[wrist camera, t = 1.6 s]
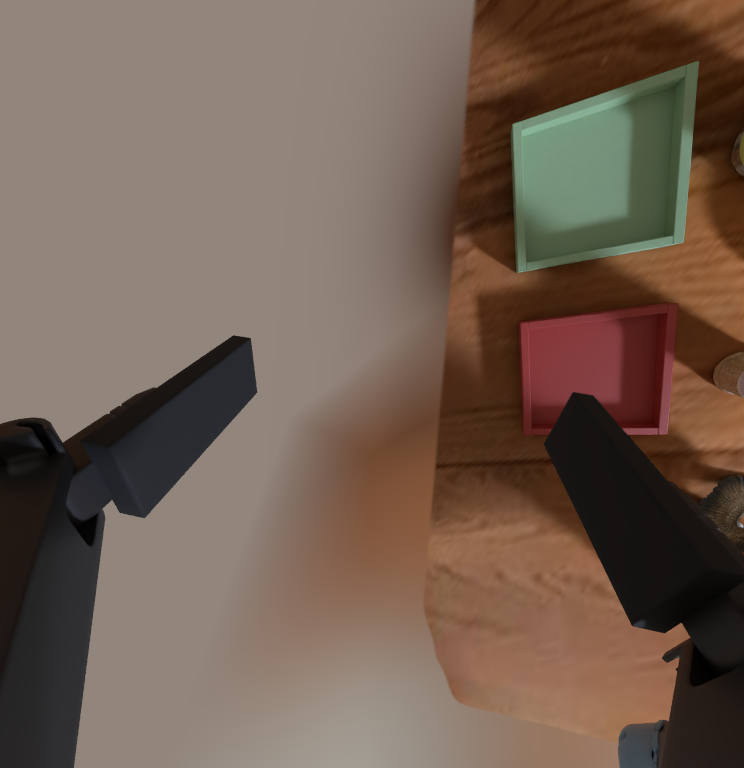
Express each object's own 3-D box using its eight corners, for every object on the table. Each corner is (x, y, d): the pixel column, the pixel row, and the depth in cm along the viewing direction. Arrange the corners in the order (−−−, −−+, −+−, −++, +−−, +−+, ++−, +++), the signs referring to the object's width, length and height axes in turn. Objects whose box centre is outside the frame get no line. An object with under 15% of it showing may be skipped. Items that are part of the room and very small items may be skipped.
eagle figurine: (739, 565, 34) (838, 527, 29) (735, 597, 29) (850, 559, 24) (668, 505, 38) (742, 463, 33) (655, 525, 34) (738, 480, 29)
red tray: (666, 302, 30) (678, 303, 28) (657, 426, 34) (667, 434, 32) (517, 321, 35) (520, 322, 33) (522, 428, 38) (524, 435, 37)
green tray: (683, 76, 26) (699, 59, 24) (670, 245, 29) (684, 242, 27) (510, 134, 31) (512, 123, 29) (516, 273, 34) (518, 272, 32)
